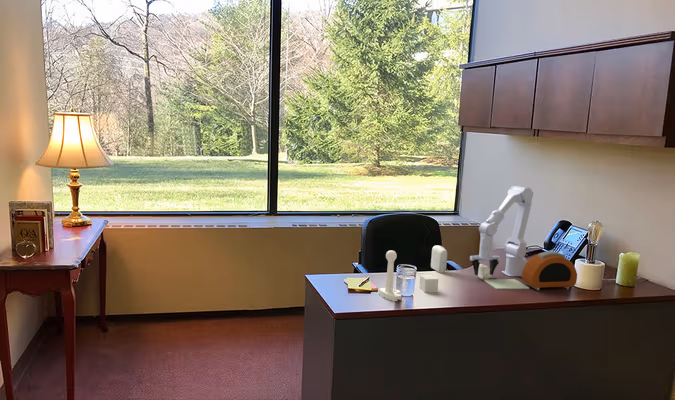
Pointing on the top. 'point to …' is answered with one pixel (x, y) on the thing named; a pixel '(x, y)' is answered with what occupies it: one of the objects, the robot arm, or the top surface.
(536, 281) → the orange toaster
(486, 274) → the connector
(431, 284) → the white cube
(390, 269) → the joystick
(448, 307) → the top surface
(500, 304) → the top surface
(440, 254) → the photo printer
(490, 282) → the rubber mat
